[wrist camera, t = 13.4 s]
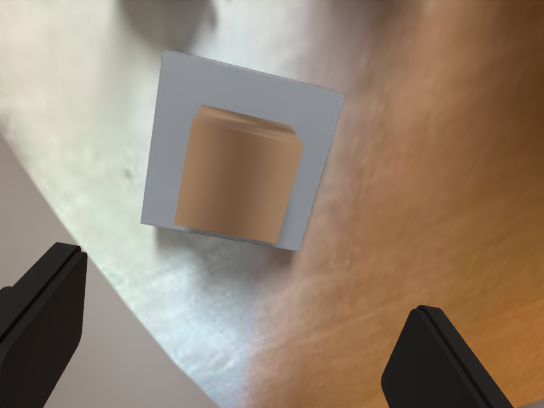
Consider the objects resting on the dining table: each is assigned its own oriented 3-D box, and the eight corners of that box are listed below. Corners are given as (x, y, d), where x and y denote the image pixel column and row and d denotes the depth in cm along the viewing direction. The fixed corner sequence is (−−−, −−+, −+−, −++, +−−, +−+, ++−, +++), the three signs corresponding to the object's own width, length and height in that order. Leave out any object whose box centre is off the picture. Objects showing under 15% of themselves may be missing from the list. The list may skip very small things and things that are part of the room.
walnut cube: (290, 125, 26) (303, 146, 21) (269, 205, 28) (276, 243, 23) (202, 104, 25) (191, 120, 20) (187, 188, 27) (173, 224, 22)
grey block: (329, 88, 31) (345, 95, 26) (291, 224, 35) (299, 251, 30) (175, 50, 29) (162, 50, 24) (154, 198, 33) (140, 223, 28)
